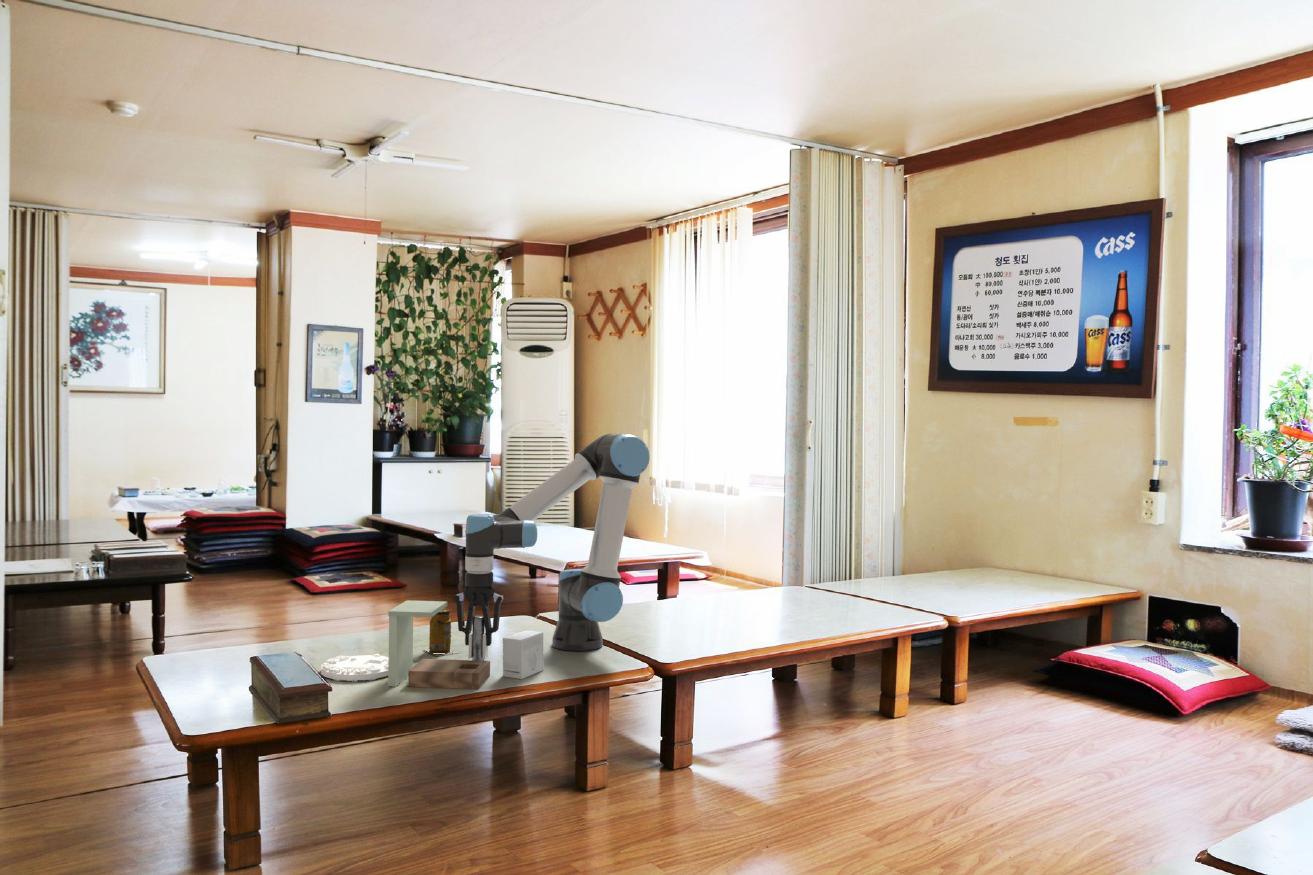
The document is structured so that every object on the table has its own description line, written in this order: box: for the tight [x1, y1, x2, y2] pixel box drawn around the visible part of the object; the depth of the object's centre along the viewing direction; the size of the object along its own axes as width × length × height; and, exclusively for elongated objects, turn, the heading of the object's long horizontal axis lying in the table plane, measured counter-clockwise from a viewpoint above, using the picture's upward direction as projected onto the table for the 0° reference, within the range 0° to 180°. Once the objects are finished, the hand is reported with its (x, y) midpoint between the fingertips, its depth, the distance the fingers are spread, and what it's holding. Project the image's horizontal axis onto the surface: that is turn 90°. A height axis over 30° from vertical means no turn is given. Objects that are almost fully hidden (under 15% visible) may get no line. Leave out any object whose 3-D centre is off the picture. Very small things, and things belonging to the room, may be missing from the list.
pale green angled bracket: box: [387, 600, 448, 688], centre depth 243 cm, size 11×14×19 cm
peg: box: [471, 615, 486, 661], centre depth 255 cm, size 3×3×14 cm
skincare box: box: [502, 629, 545, 680], centre depth 251 cm, size 10×6×10 cm, turn 152°
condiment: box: [424, 608, 460, 657], centre depth 272 cm, size 7×8×12 cm
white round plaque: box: [320, 653, 389, 683], centre depth 250 cm, size 20×20×3 cm
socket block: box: [407, 658, 491, 690], centre depth 242 cm, size 18×12×4 cm, turn 86°
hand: (478, 657), depth 255 cm, fingers closed on peg, 3 cm apart
